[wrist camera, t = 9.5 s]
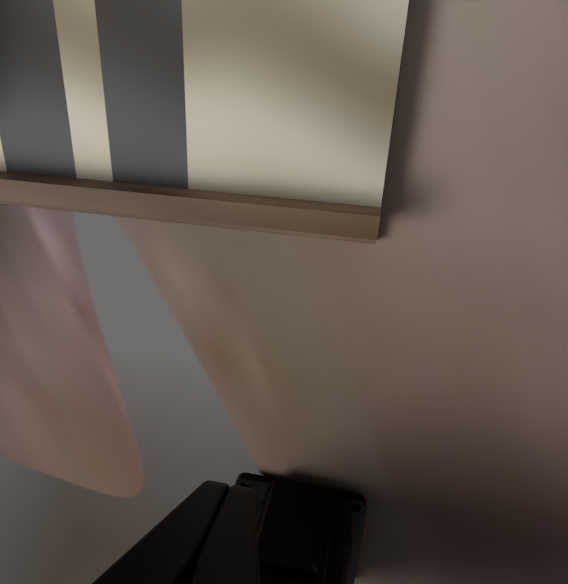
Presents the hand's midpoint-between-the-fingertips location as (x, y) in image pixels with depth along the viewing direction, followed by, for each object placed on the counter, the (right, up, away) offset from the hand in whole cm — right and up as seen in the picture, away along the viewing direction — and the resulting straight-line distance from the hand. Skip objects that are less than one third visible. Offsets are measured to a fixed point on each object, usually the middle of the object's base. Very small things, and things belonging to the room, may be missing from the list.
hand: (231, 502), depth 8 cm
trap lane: (-6, +12, +9) cm, 17 cm away
